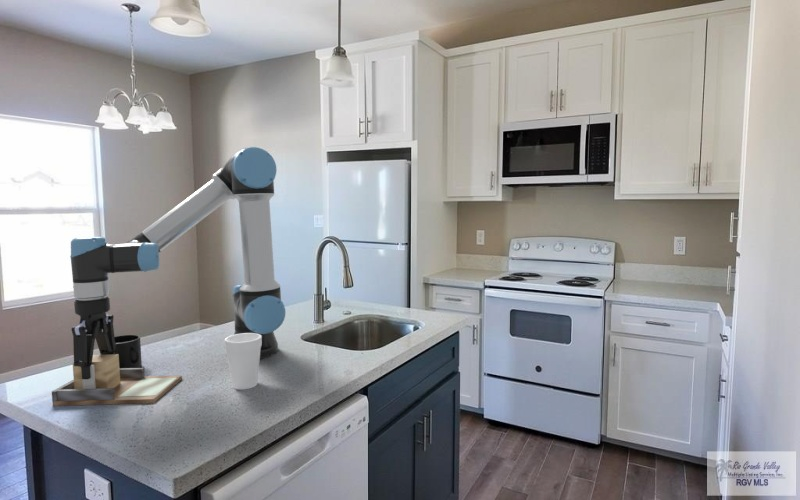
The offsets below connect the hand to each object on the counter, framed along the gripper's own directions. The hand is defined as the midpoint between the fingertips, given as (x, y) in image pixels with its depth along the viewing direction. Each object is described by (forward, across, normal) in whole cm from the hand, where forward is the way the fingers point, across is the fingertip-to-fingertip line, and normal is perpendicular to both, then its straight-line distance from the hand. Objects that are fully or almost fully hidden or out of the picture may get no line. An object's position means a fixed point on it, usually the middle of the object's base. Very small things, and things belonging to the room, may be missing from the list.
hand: (98, 384), depth 119 cm
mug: (+2, -17, -2) cm, 17 cm away
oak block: (+1, 0, 0) cm, 1 cm away
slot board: (+2, 0, +6) cm, 6 cm away
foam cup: (+2, -2, +37) cm, 37 cm away
